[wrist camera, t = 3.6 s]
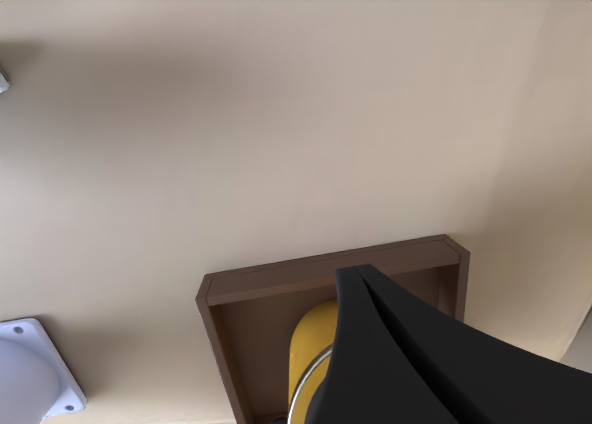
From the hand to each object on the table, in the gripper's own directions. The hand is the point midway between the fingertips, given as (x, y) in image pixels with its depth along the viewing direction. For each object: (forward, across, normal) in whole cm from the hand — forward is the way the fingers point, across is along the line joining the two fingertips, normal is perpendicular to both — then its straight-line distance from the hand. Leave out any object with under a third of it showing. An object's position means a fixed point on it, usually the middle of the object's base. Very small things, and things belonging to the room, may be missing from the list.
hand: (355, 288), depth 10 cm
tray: (+6, 0, +9) cm, 11 cm away
